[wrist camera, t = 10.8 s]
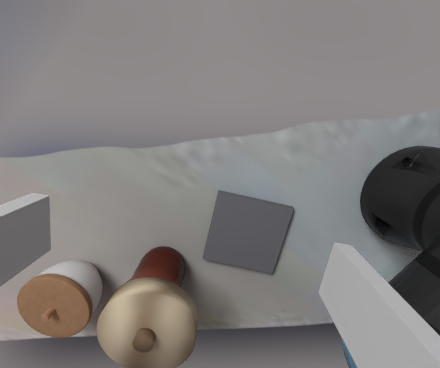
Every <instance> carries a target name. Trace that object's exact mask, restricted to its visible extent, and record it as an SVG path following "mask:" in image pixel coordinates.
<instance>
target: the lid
mask: <svg viewBox="0 0 440 368" xmlns="http://www.w3.org/2000/svg"><path fill="white" fill-rule="evenodd" d="M197 325H198V312H197V308H196V305H195V303H194V301H193V300H192V298H191V297H190V296H189V294H188V293H187V292H186V291H185V290H183V289H182V288H181V287H179V286H178V285H176V284H174V283H172V282H170V281H167V280H164V279H160V278H153V277H145V278H138V279H134V280H131V281H129V282H127V283H125V284H123V285H122V286H120V287H119V288H118V289H117V290H116V291H115V292H114V294H113V295H112V297H111V299H110V300H109V302H108V303H107V305H106V306H105V308H104V309H103V311H102V313H101V314H100V316H99V319H98V322H97V337H98V340H99V343H100V345H101V347H102V348H103V350H104V351H105V353H106V354H107V355H108V356H109V357H110V358H111V359H112V360H114V361H115V362H116V363H118V364H120V365H121V366H123V367H125V368H176V367H178V366H179V365H180V364H182V363H183V362H184V361H185V360H186V359H187V358H188V357H189V356H190V354H191V352H192V351H193V348H194V345H195V339H196V332H197Z"/></svg>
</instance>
